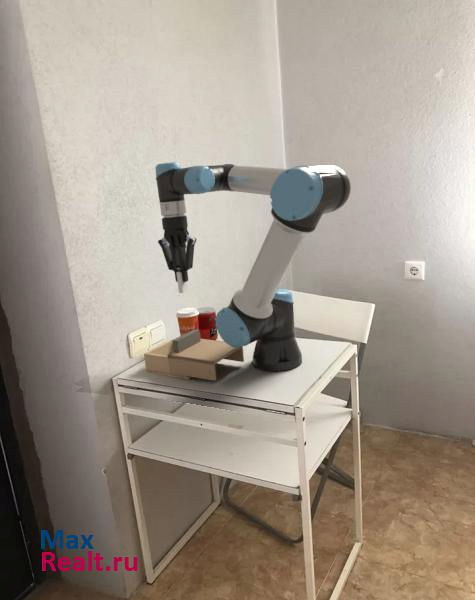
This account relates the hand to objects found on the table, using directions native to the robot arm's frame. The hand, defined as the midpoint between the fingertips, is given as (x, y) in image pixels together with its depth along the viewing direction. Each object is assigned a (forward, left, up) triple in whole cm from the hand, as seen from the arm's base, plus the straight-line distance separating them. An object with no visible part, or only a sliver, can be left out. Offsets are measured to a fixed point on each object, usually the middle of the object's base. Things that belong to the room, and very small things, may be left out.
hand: (183, 292), depth 159 cm
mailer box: (0, +5, -23) cm, 24 cm away
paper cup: (+7, -9, -23) cm, 26 cm away
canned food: (+8, -21, -23) cm, 32 cm away
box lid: (-10, +5, -22) cm, 24 cm away
